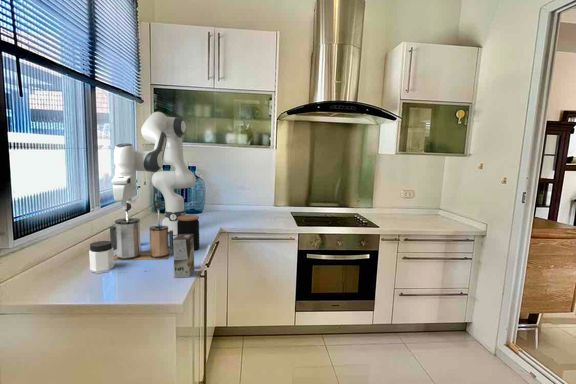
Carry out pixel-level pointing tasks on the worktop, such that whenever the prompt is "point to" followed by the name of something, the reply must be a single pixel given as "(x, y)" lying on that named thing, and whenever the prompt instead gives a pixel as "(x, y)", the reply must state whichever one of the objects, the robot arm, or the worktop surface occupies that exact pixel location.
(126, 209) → the steel plunger
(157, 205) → the ball knob plunger
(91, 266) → the jar
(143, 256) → the board
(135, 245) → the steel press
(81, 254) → the worktop surface
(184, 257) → the coffee box
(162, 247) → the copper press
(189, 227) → the coffee jar
